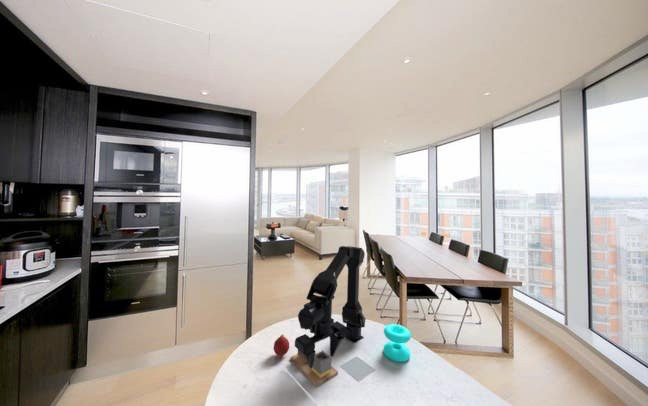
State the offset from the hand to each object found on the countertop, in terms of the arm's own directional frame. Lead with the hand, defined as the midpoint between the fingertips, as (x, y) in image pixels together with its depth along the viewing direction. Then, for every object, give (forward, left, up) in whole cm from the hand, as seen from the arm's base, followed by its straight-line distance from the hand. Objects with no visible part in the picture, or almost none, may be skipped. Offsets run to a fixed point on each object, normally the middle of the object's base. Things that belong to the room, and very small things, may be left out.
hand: (321, 361), depth 78 cm
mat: (-12, +5, -5) cm, 14 cm away
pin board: (0, -5, -5) cm, 6 cm away
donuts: (-30, +9, -5) cm, 32 cm away
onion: (+6, -17, -5) cm, 18 cm away
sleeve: (0, 0, -3) cm, 3 cm away
